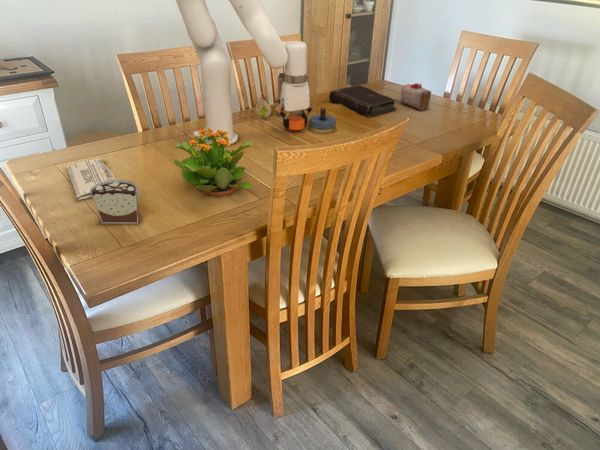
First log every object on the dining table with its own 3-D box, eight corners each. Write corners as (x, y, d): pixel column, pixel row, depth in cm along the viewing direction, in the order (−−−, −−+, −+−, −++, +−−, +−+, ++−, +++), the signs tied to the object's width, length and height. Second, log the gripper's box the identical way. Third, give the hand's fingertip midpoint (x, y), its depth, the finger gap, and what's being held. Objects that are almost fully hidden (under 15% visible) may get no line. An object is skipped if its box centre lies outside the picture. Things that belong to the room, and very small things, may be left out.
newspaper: (123, 190, 137) (120, 183, 136) (79, 204, 133) (76, 196, 131) (107, 160, 153) (105, 153, 152) (68, 171, 149) (65, 164, 147)
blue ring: (317, 130, 178) (317, 124, 176) (305, 122, 185) (306, 116, 183) (339, 127, 181) (339, 121, 180) (327, 119, 188) (327, 113, 187)
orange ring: (291, 130, 172) (291, 123, 170) (284, 125, 177) (284, 117, 175) (306, 128, 174) (306, 120, 173) (299, 122, 179) (299, 115, 178)
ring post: (316, 134, 178) (317, 114, 174) (305, 126, 186) (305, 106, 181) (339, 131, 182) (341, 111, 178) (327, 122, 189) (328, 103, 185)
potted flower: (277, 192, 139) (277, 136, 130) (210, 220, 125) (205, 160, 115) (226, 164, 154) (222, 113, 144) (161, 187, 140) (153, 131, 130)
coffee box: (300, 112, 199) (301, 73, 191) (299, 117, 194) (300, 77, 185) (279, 110, 200) (279, 72, 191) (277, 116, 195) (277, 76, 186)
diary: (366, 118, 196) (367, 106, 193) (328, 101, 212) (329, 90, 210) (397, 110, 205) (399, 98, 202) (359, 95, 222) (360, 84, 219)
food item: (396, 102, 214) (399, 80, 209) (409, 100, 218) (412, 78, 212) (418, 111, 204) (422, 88, 199) (431, 108, 208) (435, 86, 203)
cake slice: (149, 211, 128) (144, 178, 122) (144, 223, 123) (137, 189, 117) (103, 211, 127) (96, 178, 122) (96, 223, 122) (87, 189, 117)
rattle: (280, 117, 193) (280, 89, 187) (265, 121, 189) (264, 93, 182) (269, 112, 198) (269, 85, 192) (253, 116, 193) (253, 88, 187)
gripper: (312, 73, 172) (311, 120, 182) (268, 78, 166) (270, 126, 175) (322, 78, 166) (320, 126, 176) (277, 84, 160) (278, 133, 170)
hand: (295, 126), depth 176 cm, fingers closed on orange ring, 6 cm apart
